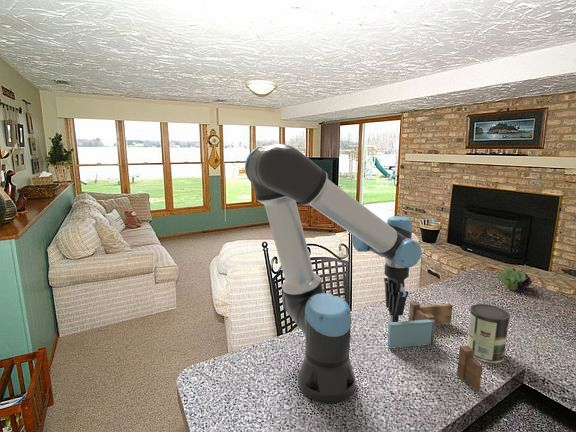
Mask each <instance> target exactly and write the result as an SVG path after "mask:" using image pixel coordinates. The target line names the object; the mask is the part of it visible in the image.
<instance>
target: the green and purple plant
mask: <svg viewBox="0 0 576 432" xmlns="http://www.w3.org/2000/svg"><path fill="white" fill-rule="evenodd" d="M498 275H499V278H498V281H499V282H501V283H503V284H504V285H506V287H508V288H509V290H511V291H512V292H513V291H515V292H516V291H517V292H519V291H520V290H525V289H527V288H529V287H530V285H532V283H533V281H532V280H531V277H530V276H529V275H528V274H527V272H526V271H522V270H516V269H515V267H510V266H507V267H506V268H505V269H504V271H502V272H498Z"/></svg>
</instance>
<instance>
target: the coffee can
mask: <svg viewBox="0 0 576 432" xmlns="http://www.w3.org/2000/svg"><path fill="white" fill-rule="evenodd" d="M469 310H470V312H469V323H468V332H467V342H466V346H469V347H470V348H471V349H472V350H474V354H473V358H474V359H475V360H477V361H478V360H479V361H480V362H484V363H487V364H488V363H489V364H500V363H502V362H504V360H505V353H506V352H505V351H506V343H507V337H508V329H509V322H510V318H511V314H510V313H509V312H508V311H507V310H505V309H503V308H501V307H499V306H496V305H491V304H488V303H487V304H485V303H476V304H473V305H471V306H470V307H469Z"/></svg>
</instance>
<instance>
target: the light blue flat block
mask: <svg viewBox="0 0 576 432" xmlns="http://www.w3.org/2000/svg"><path fill="white" fill-rule="evenodd" d="M388 325H389V331H388V330H387V331H388V333H387V334H388V335H387V347H388V348H389V349H394V348H395V349H396V348H402V347H403V348H405V347H416V346H426V345H427V346H428V345H434V339H435V328H436V325H435V320H433V319H428V320H415V321H409V320H403V321H398V322H390V323H387V326H388Z"/></svg>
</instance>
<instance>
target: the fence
mask: <svg viewBox="0 0 576 432" xmlns="http://www.w3.org/2000/svg"><path fill="white" fill-rule="evenodd" d="M452 312H453V304H451V303H444V304H431V305H421V304H420V303H419V302H418V301H410V302H409V313H408V321H415V320H428V319H433V320H435V326H436V325H445V324H446V325H447V324H448V325H449V324H451V323H452V316H453V315H452ZM458 351H459V352H458V362H457V371H456V376H457V378H458V379H460V380H461V381H462V382H467V383H468V385H469V386H470V387H472V389H474V391H480V390H481V388H480V387H481V380H482V375H483V374H482V373H483V365H482V364H481V363H480V362H479V361H478V360H477V359H476V358H474V357H473V354H474V350H472V349H471V348H470V347H469V346H467V345H462V346H461V345H460V347H459V350H458Z"/></svg>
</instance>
